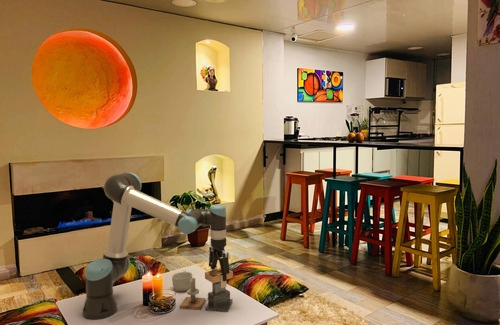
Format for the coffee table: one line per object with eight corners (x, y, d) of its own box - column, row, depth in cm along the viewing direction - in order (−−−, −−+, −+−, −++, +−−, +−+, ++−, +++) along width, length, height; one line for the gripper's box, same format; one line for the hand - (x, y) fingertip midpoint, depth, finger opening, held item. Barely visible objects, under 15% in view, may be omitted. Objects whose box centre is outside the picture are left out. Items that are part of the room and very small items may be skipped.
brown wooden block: (213, 283, 179) (212, 276, 179) (204, 278, 185) (204, 272, 185) (233, 277, 186) (232, 271, 185) (224, 273, 191) (224, 267, 191)
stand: (179, 308, 184) (179, 282, 183) (186, 299, 194) (185, 274, 193) (200, 309, 182) (199, 283, 181) (205, 300, 192) (205, 275, 191)
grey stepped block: (205, 310, 182) (204, 282, 181) (210, 300, 192) (210, 274, 191) (228, 312, 180) (227, 283, 179) (232, 301, 191) (232, 275, 190)
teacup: (188, 294, 200) (188, 279, 200) (168, 292, 203) (168, 277, 202) (197, 283, 214) (197, 269, 213) (178, 282, 216) (178, 268, 216)
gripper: (237, 241, 178) (237, 289, 180) (213, 232, 194) (214, 276, 196) (223, 244, 173) (224, 293, 175) (200, 234, 190) (201, 280, 191)
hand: (219, 284), depth 185 cm, fingers closed on brown wooden block, 7 cm apart
